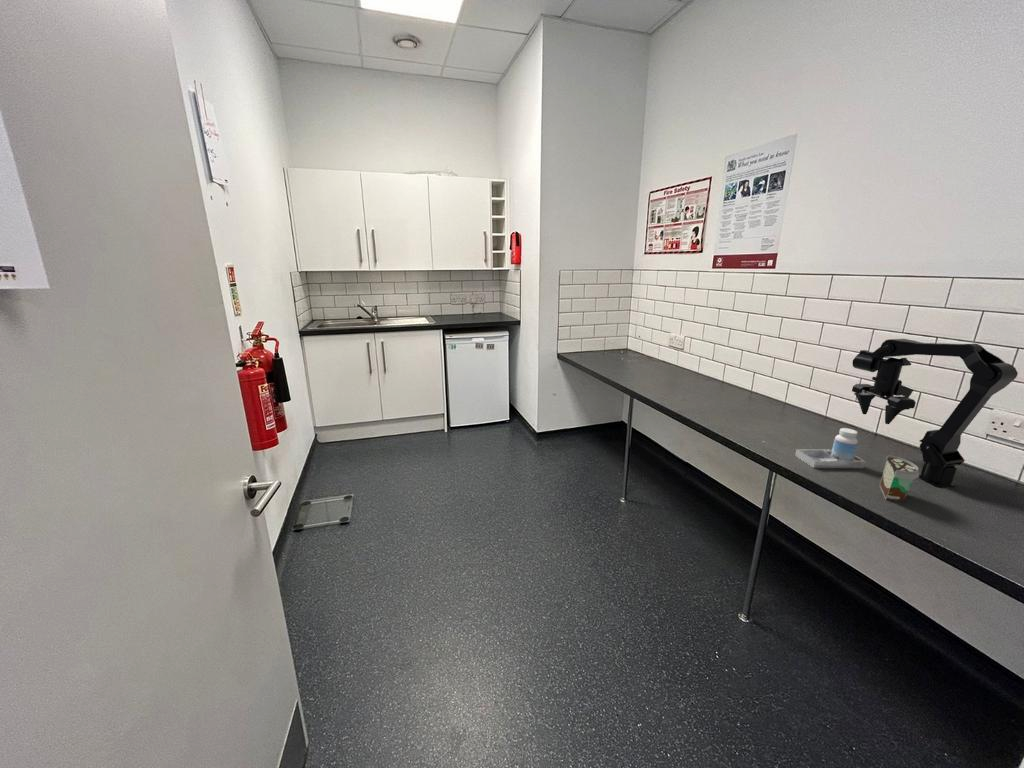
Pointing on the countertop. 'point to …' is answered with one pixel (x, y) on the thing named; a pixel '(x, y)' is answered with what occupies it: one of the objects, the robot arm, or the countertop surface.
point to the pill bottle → (845, 445)
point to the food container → (897, 478)
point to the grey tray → (826, 459)
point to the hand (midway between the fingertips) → (875, 418)
